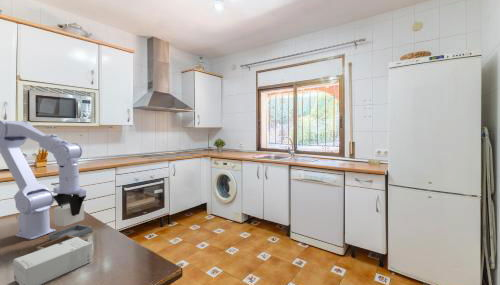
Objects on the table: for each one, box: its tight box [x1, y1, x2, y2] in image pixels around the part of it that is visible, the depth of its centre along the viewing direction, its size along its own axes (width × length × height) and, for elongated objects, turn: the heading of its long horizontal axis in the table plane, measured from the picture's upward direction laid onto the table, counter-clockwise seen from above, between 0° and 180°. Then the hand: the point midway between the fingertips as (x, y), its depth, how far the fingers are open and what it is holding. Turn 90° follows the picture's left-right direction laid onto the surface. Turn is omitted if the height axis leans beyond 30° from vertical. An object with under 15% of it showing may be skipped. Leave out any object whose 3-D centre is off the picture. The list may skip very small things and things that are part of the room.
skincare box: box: [12, 237, 93, 285], centre depth 65 cm, size 8×6×15 cm
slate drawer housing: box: [48, 223, 93, 241], centre depth 87 cm, size 8×10×2 cm
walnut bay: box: [34, 235, 89, 252], centre depth 75 cm, size 10×9×3 cm
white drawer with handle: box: [53, 202, 85, 227], centre depth 86 cm, size 5×7×7 cm
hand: (70, 213), depth 86 cm, fingers closed on white drawer with handle, 5 cm apart
